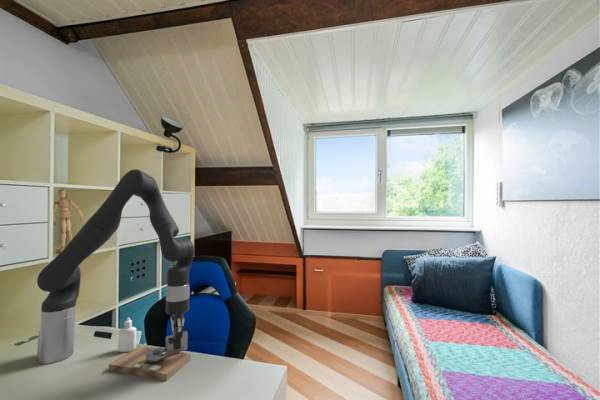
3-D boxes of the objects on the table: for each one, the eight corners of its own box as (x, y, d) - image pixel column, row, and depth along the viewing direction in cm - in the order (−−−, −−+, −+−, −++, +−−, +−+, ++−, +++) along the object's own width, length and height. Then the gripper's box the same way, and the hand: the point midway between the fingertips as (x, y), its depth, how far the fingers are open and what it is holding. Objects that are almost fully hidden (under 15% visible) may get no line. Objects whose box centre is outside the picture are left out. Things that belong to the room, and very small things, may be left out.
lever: (135, 360, 89) (136, 342, 89) (183, 345, 100) (183, 328, 100) (140, 369, 85) (141, 349, 85) (189, 351, 95) (190, 334, 95)
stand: (108, 370, 88) (109, 363, 88) (138, 351, 99) (138, 345, 99) (166, 380, 83) (166, 372, 83) (190, 359, 94) (190, 353, 95)
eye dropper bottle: (127, 354, 97) (128, 320, 98) (116, 351, 99) (117, 318, 100) (137, 348, 101) (139, 316, 102) (127, 346, 103) (128, 314, 104)
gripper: (192, 300, 89) (191, 354, 88) (186, 291, 101) (185, 338, 100) (167, 304, 85) (166, 360, 84) (164, 294, 97) (163, 343, 96)
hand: (177, 348), depth 92 cm, fingers closed
